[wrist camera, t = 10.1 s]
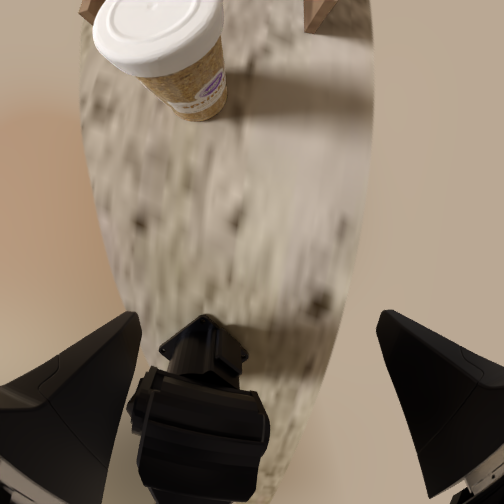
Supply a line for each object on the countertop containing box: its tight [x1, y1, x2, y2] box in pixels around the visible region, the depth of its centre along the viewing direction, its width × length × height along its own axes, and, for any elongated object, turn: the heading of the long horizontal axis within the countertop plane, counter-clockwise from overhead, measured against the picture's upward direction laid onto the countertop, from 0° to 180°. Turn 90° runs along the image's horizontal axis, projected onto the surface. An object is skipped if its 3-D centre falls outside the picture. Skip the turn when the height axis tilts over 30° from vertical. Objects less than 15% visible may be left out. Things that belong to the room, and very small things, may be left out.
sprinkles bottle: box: [93, 0, 227, 121], centre depth 12 cm, size 5×5×13 cm
